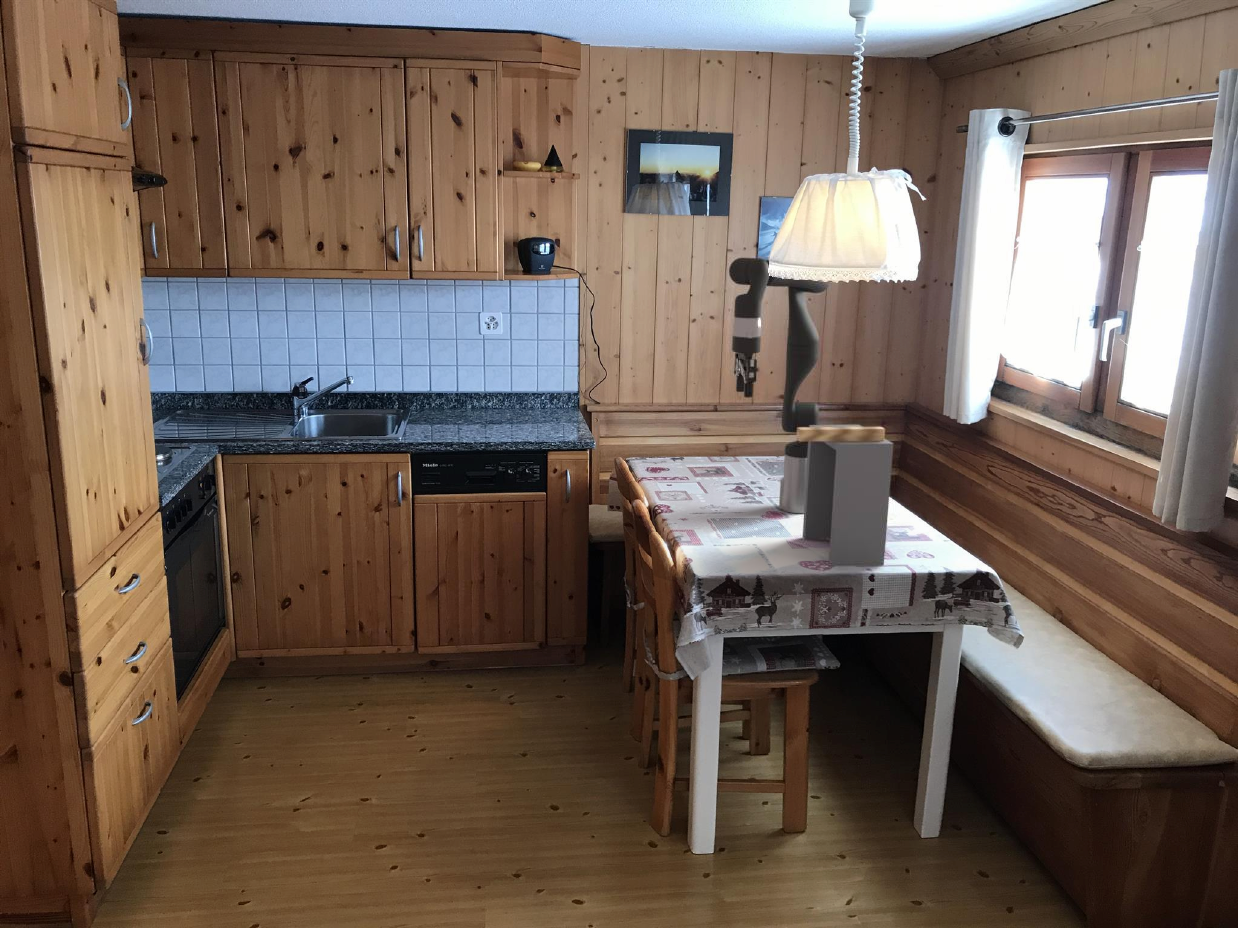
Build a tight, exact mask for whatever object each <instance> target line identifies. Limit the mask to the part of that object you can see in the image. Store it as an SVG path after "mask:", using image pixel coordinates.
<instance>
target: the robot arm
mask: <svg viewBox="0 0 1238 928" xmlns="http://www.w3.org/2000/svg"><path fill="white" fill-rule="evenodd" d="M769 260H770V259H764V258H760V257H739V258H736V259H734V260H733V261H732V262H731V264H730V265H729V267H728V268H729V269H728V274H729V278H730V279H731V280H732V282H733V283H735V284H737V285H741V286H742V285H744V286H749V288H748V291H747V292H746V293H741V294H738V295H737V296H736V297H735V299H734V313H733V317H734V318H733V324H732V340H731V341H732V343H731V351H732V352H733V353H734V368H733V369H734V371H733V374H734V375H735V378H736V380H735V382H736V383H735V391H736V392H737V393H743V397H744V398H747V399H748V398H750V399H751V398H753V396H754V395H753V394H754V393H753V392H754V384H755V383H756V382H757V368H758V366H757V364H758V359H754V354H758V353H760V352H761V341H762V339H761V338H762V337H761V336H762V319H761V318H762V303H763V299H764V295H765V292H766V288H767V287H773V288H774V287H775V288H776V287H778V288H779V287H780V288H781V287H783V288H785V287H787V289H788V290H787V291H788V294H787V295H788V327H787V328H788V329H787V340H786V355H785V360H786V362H785V381H784V382H785V383H784V392H783V399H782V400H783V401H782V410H781V428H782V431H784V433H785V432H786V433H793V434H794V433H795V434H797V427H809V425H819V419H820V410H819V409H820V408H819V405H818V404H817V403H816V402H809V401H807V402H806V401H795V398H796V396H797V392H798V391H799V389H800V387H801V385H802V384H803V382H804V381H805V379H806V378H807V377H808V375H809V374H810V373H811V372H812V370H813V369H814V368H815V365H816V363H817V362H818V361H819V348H820V337H819V333H818V330H817V328H816V326H815V323H814V322H813V319H812V317H811V316H810V313H809V309H808V306H807V293H811V294H819V293H820V294H821V293H823V292H825V291H826V290H827V289H828V287H829V286H830V284H831V282H819V281H812V280H793V279H782V278H777V277H772V276H769V273H768V268H769ZM807 454H808V441H803V442H800V441H798V440H797V439H796V440H794V441H791V442H789V443H786V445H785V446H784V458H783V463H784V464H783V476H782V477H781V478H780V480H779V481H780V483H779V485H780V487H779V500H778V501H779V503H778V504H779V505H778V509H781V510H783V511H785V512H787V513H793V514H804V505H805V488H806V471H807Z"/></svg>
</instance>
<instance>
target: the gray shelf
mask: <svg viewBox="0 0 1238 928" xmlns="http://www.w3.org/2000/svg"><path fill="white" fill-rule="evenodd" d="M809 427H863V425H860V424H818V425H809ZM893 453H894V443H893V442H892V441H889V440H887V438H884V441H808V454H807V471H806V488H805V505H804V513H803V523H802V524H803V525H802V539H803V538H804V539H803V540H805V541H813V540H816V541H817V540H830V544H829V555H828V558H829V559H828V564H830V566H829V567H851V566H853V567H856V566H860V567H861V566H884V565H885V554H886V553H885V552H886V543H887V542H886V540H887V529H888V518H889V517H888V516H889V505H890V503H889V502H890V492H891V478H892V468H893V467H892V465H893V455H894V454H893Z"/></svg>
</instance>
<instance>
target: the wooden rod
mask: <svg viewBox="0 0 1238 928" xmlns="http://www.w3.org/2000/svg"><path fill="white" fill-rule="evenodd" d="M885 436H886V428H884V427H882V426H862V427H797V433H796V441H797V440H798V441H800V442H803V441H884V439H886V438H885Z"/></svg>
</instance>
